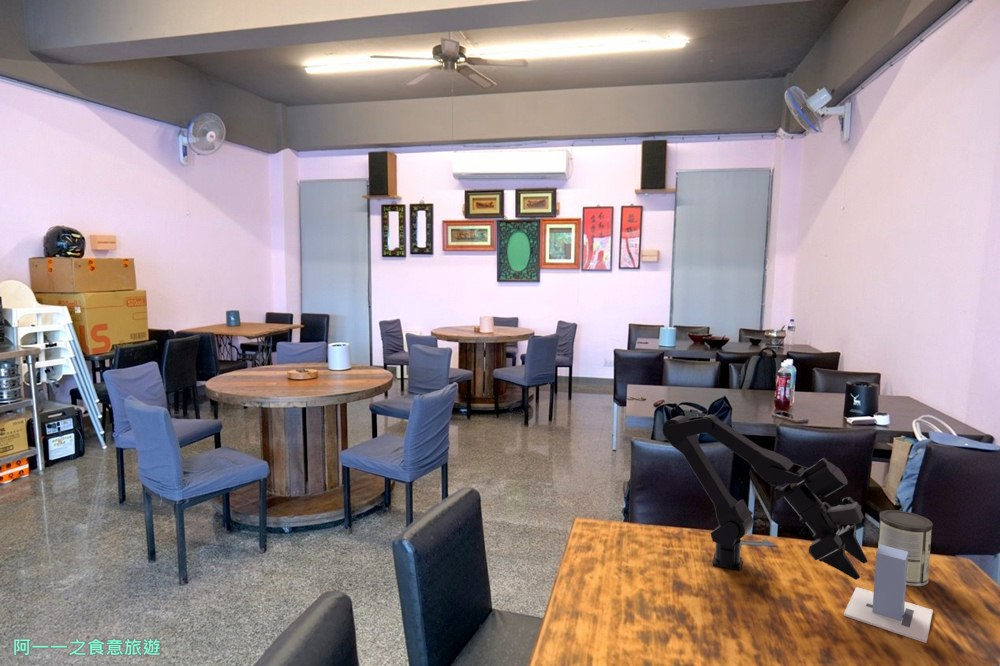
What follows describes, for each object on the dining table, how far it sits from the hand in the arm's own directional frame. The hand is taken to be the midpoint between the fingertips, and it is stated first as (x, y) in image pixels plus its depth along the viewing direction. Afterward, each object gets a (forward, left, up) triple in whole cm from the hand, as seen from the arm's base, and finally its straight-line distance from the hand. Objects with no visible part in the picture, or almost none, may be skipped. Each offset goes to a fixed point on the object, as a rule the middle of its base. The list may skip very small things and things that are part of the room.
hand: (862, 570), depth 124 cm
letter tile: (+1, +5, -8) cm, 9 cm away
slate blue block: (+1, +5, -7) cm, 9 cm away
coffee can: (-19, +11, -8) cm, 23 cm away
